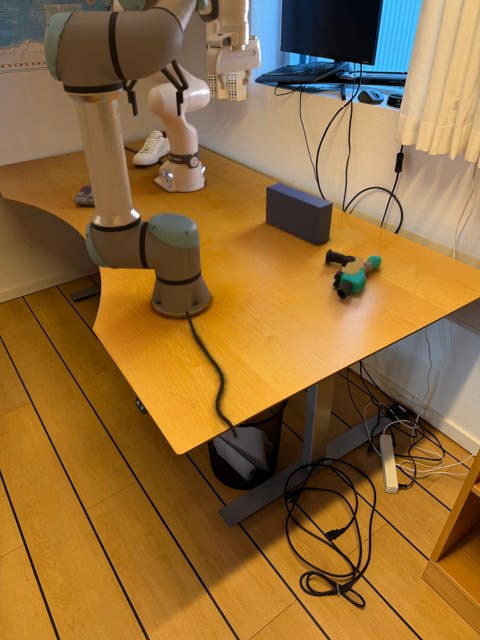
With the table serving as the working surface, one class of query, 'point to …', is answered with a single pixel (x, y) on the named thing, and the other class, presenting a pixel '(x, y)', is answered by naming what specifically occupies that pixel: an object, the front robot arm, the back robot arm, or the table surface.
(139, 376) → the table surface
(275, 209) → the box
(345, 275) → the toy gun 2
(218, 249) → the table surface
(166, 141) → the sneaker
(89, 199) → the toy gun
